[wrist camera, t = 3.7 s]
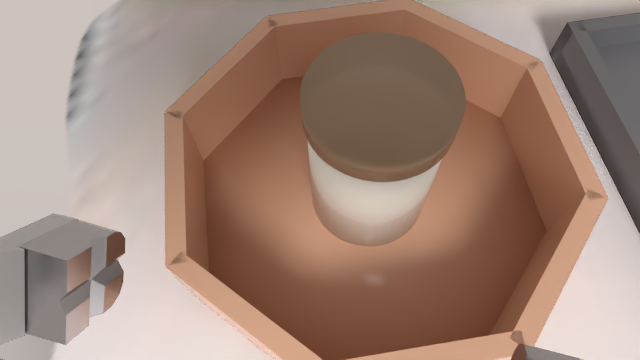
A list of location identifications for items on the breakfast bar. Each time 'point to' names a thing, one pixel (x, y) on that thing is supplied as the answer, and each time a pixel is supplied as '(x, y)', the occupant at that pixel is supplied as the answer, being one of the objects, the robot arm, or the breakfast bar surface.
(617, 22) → the tray
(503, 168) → the bowl
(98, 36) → the breakfast bar surface
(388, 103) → the spice jar
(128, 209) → the breakfast bar surface
